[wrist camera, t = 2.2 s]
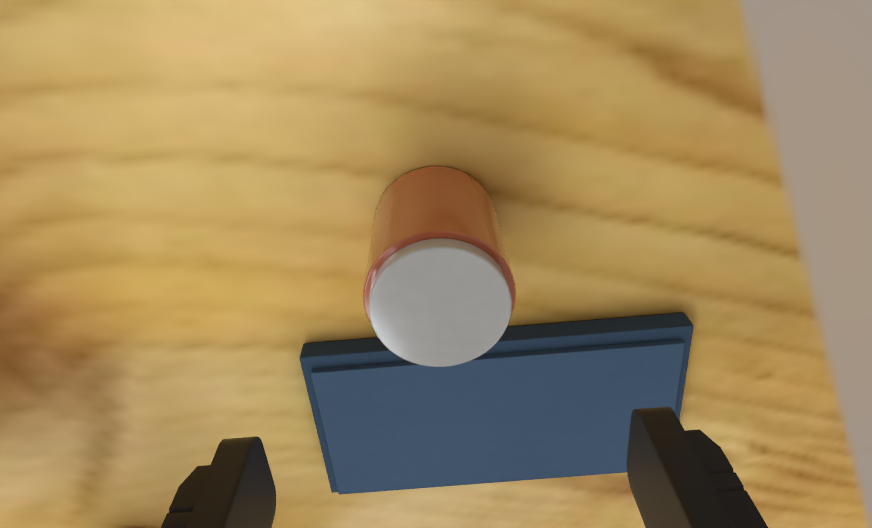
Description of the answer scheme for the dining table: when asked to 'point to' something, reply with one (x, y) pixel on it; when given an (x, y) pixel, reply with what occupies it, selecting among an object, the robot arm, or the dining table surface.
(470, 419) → the blue flat rectangular block
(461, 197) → the pill bottle
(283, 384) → the dining table surface
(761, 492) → the dining table surface
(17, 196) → the dining table surface
